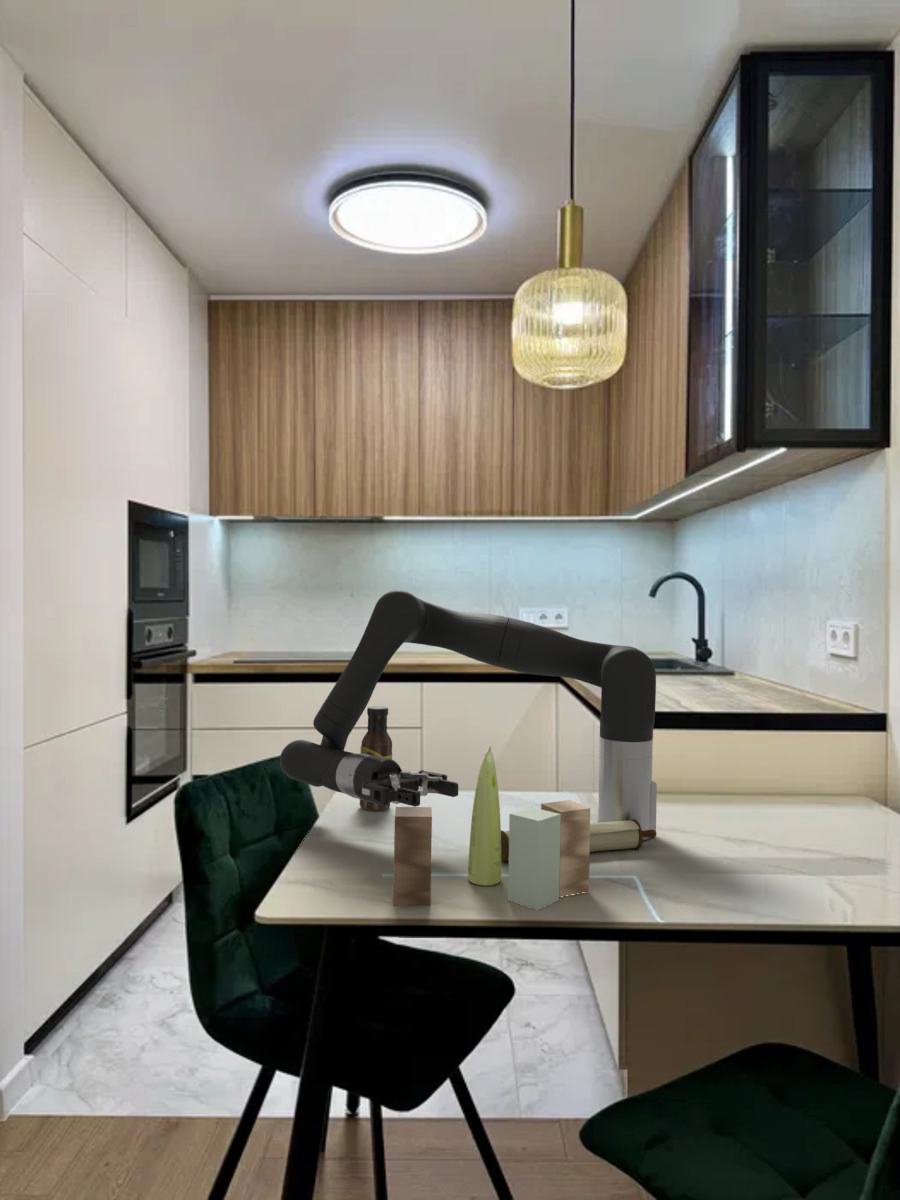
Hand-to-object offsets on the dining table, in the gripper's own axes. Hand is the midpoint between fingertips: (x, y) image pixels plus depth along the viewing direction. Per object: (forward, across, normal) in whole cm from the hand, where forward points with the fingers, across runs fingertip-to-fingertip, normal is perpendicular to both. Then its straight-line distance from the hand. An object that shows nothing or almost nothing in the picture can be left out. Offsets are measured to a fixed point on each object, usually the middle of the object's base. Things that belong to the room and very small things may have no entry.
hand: (438, 794), depth 127 cm
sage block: (+19, -1, +11) cm, 22 cm away
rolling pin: (+11, +20, +12) cm, 25 cm away
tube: (+10, 0, +11) cm, 15 cm away
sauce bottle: (-32, +16, +11) cm, 37 cm away
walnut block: (+7, -12, +11) cm, 18 cm away
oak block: (+20, +6, +11) cm, 23 cm away
